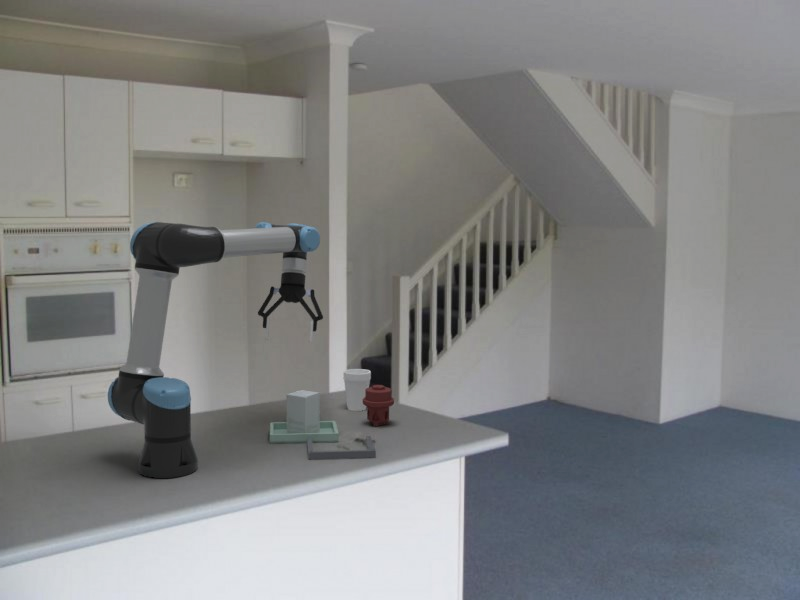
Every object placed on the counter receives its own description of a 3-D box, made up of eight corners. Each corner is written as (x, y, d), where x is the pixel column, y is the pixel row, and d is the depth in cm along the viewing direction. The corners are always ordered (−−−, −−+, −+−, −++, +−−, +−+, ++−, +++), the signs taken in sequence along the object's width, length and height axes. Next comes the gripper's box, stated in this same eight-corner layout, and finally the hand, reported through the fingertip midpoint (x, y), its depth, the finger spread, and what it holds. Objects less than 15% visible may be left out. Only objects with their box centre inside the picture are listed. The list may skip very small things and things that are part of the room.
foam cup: (340, 411, 280) (340, 373, 278) (346, 404, 289) (346, 368, 287) (367, 412, 278) (368, 375, 277) (373, 406, 287) (373, 369, 286)
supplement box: (320, 433, 251) (320, 392, 249) (305, 439, 244) (305, 397, 243) (301, 429, 255) (301, 389, 253) (285, 435, 248) (285, 393, 247)
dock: (308, 459, 227) (308, 452, 227) (307, 444, 241) (307, 437, 241) (375, 457, 230) (375, 450, 229) (369, 442, 244) (370, 436, 244)
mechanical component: (396, 421, 269) (390, 429, 259) (366, 418, 271) (359, 426, 261) (397, 383, 267) (390, 390, 257) (367, 381, 269) (359, 388, 259)
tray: (269, 443, 241) (269, 435, 241) (270, 430, 255) (270, 422, 255) (338, 441, 244) (338, 433, 244) (335, 429, 258) (335, 420, 257)
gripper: (332, 278, 266) (328, 343, 263) (253, 272, 263) (248, 338, 260) (333, 274, 258) (329, 342, 256) (253, 268, 255) (247, 336, 252)
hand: (288, 340), depth 258 cm, fingers open, 13 cm apart
